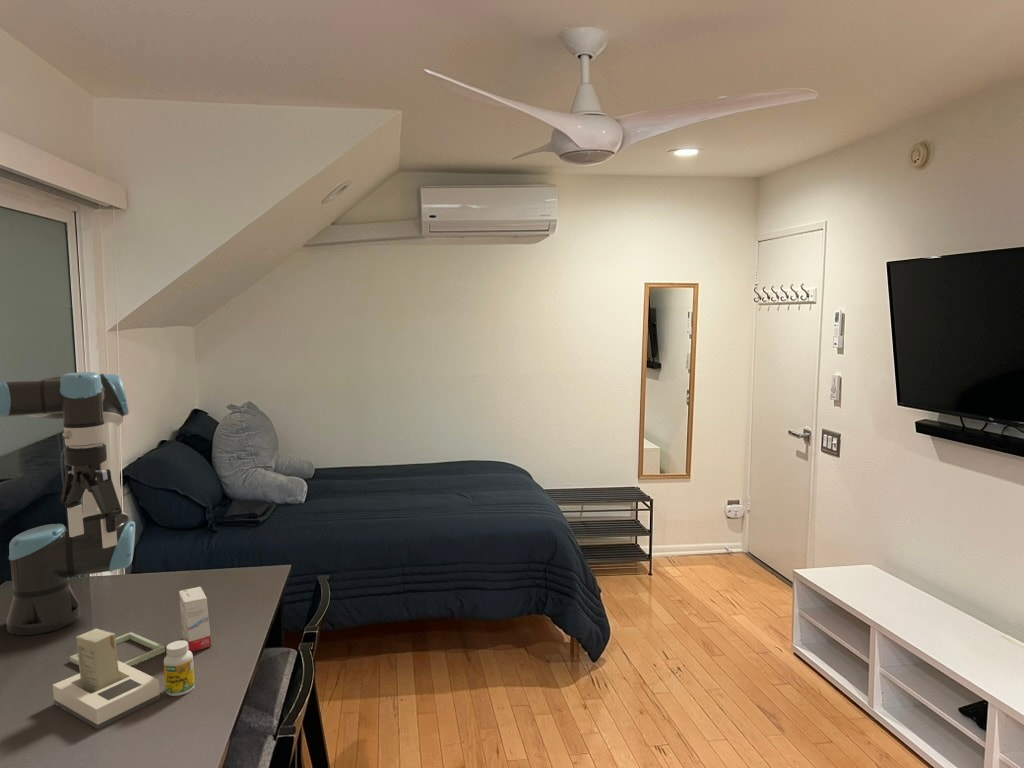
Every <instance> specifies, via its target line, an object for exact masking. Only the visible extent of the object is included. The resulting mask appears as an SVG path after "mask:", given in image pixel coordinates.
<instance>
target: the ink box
mask: <svg viewBox="0 0 1024 768" xmlns="http://www.w3.org/2000/svg"><path fill="white" fill-rule="evenodd" d="M178 594H179V606H180V607H179V608H180V619H181V621H180V622H181V633H182V640H183V641H187V642H188V647H189V649H188V650H189V651H190V652H191V653H193V652H196V650H197V651H201V650H203V649H206V648H209V647H212V641H211V631H210V623H209V622H210V620H209V611H208V609H209V608H208V597H207V596H206V595H205V592H204V590H203V588H202V587H201V586H196V587H192V588H191V587H190V588H188V589H182V590H179V591H178ZM192 651H193V652H192Z"/></svg>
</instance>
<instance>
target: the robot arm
mask: <svg viewBox="0 0 1024 768" xmlns="http://www.w3.org/2000/svg"><path fill="white" fill-rule="evenodd" d="M125 390H126V389H125V385H124V383H123V379H122V377H121V376H120V375H118V374H116V373H114V374H113V373H112V374H111V373H109V374H108V373H107V374H105V373H100V374H99V373H98V372H94V371H93V372H91V371H87V372H86V371H83V372H80V371H78V372H70V373H69V372H68V373H64V374H62V375H59V376H58V375H57V376H52V377H51V376H50V377H44V378H41V379H34V380H18V381H4V380H3V381H0V418H8V417H21V416H22V417H23V416H26V417H30V418H37V419H40V418H41V419H47V420H63V432H62V437H64V444H65V446H67V447H65V450H64V451H65V452H64V453H65V461H66V464H65V465H64V466H65V468H64V469H65V475H64V479H63V485H62V491H61V495H60V503H61V504H64V506H65V507H66V508H67V509H66V511H67V521H68V529H67V527H66V526H65V525H64V524H63V523H52V524H51V523H50V524H44V525H40V526H36V527H33V528H30V529H27V530H25V531H23V532H20V533H19V534H17V535H15V536H14V537H12V539H11V540H10V542H9V546H8V548H9V555H8V560H9V563H10V575H11V586H12V601H11V604H10V608H9V611H8V614H7V618H6V631H7V632H8V633H10V634H11V635H14V634H15V636H34V635H40V634H46V633H50V632H53V631H56V630H59V629H63V628H64V627H66V626H69V625H71V624H72V623H74V622H77V620H78V619H79V618H80V617H81V606H80V603H79V601H78V599H77V598H76V596H75V593H74V592H73V589H72V587H71V584H70V583H71V582H70V578H73V577H80V576H86V575H87V576H88V575H93V574H99V573H105V572H110V573H111V572H114V571H117V570H121V569H122V570H123V569H126V568H128V567H129V566H131V564H132V562H133V558H134V552H135V551H134V550H135V541H136V522H135V521H132V520H129V519H130V518H129V514H128V513H126V512H124V511H123V510H122V495H121V494H122V493H121V491H122V490H121V474H120V457H119V454H120V453H119V452H120V451H119V439H118V437H119V435H118V433H119V432H118V427H119V426H120V425H121V424H122V423H123V421H124V417H126V416H127V415H129V406H128V400H127V396H126V391H125ZM81 504H82V505H81Z"/></svg>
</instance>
